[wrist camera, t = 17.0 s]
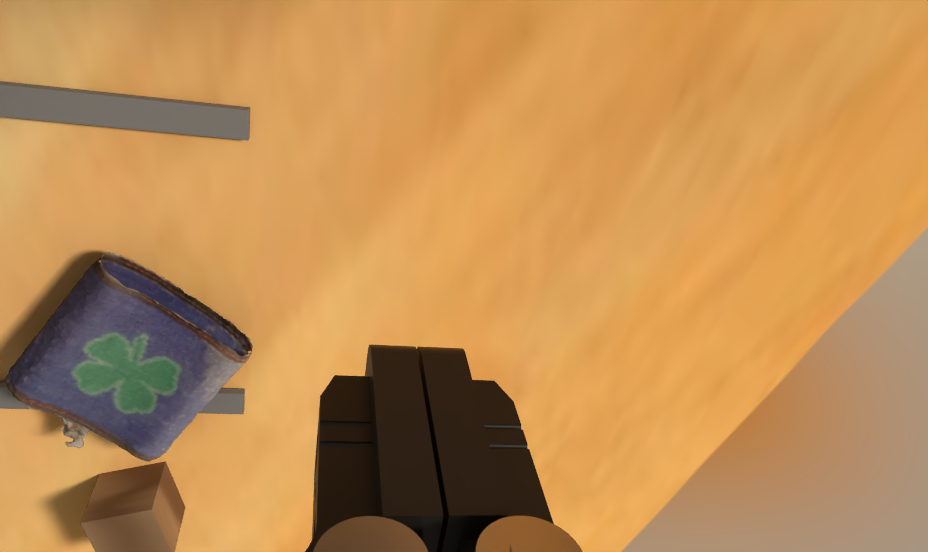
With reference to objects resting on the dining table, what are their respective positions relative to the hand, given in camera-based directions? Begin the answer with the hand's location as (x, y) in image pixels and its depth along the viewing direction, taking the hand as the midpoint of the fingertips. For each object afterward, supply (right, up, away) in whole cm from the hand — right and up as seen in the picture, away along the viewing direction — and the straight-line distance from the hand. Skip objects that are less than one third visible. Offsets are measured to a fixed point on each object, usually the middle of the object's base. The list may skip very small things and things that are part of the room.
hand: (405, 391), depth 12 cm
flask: (-14, +1, +27) cm, 30 cm away
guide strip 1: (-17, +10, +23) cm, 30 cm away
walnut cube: (-19, -12, +35) cm, 41 cm away
